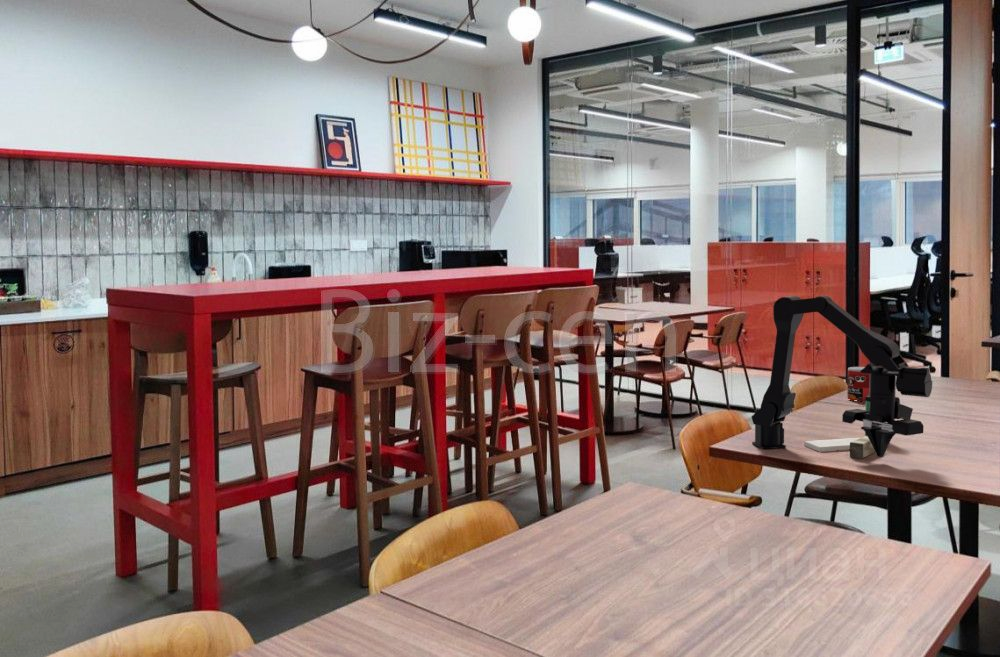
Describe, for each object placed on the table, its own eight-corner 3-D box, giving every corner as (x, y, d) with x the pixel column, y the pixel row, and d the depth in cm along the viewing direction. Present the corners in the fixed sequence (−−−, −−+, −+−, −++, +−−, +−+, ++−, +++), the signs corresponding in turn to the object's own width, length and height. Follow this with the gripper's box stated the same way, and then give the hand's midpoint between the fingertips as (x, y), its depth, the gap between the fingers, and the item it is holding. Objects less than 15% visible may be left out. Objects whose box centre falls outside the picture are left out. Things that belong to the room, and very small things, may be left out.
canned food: (842, 399, 284) (842, 367, 283) (861, 397, 286) (862, 366, 285) (858, 402, 277) (858, 370, 276) (877, 401, 279) (878, 368, 278)
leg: (869, 447, 214) (869, 433, 213) (880, 449, 212) (881, 435, 211) (849, 456, 204) (849, 442, 204) (861, 458, 202) (861, 444, 202)
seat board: (827, 455, 207) (827, 450, 207) (804, 445, 218) (804, 441, 217) (884, 451, 210) (884, 446, 210) (858, 442, 221) (858, 437, 221)
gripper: (940, 395, 193) (938, 461, 194) (872, 384, 209) (871, 445, 211) (907, 400, 188) (905, 467, 189) (841, 388, 205) (839, 450, 206)
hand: (880, 456), depth 199 cm, fingers closed
